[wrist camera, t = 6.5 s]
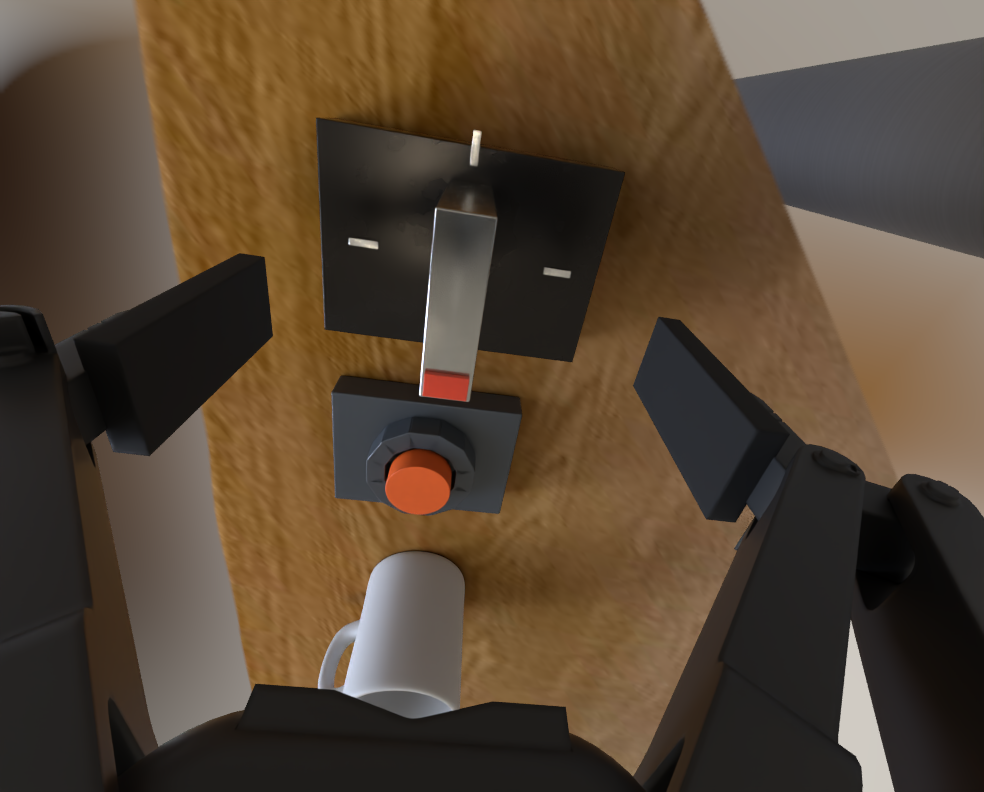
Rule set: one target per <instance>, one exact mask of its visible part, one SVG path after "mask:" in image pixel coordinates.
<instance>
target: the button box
mask: <svg viewBox="0 0 984 792" xmlns="http://www.w3.org/2000/svg"><path fill="white" fill-rule="evenodd" d="M419 389H420V385H414V384H406V383H398V382H390V381H382V380H374V379H366V378H358V377H349V376H340V378H339V380H338V382H337V384H336V385H335V387H334V389H333V391H332V420H333V449H334V477H335V498H341V499H352V500H362V501H372V502H383V503H385V504H387V505H389V506H390V507H392V508H394V509H396V510H398V511H400V512H402V513H407V512H404V511H402V510H400V509H398V508H397V507H395V506H394V505H393V504H392V503H391V502H390V501H389V499H388V498H387V495H386V491H385V486H386V482H387V478H388V474H389V470H390V467H391V464H392V462H393V460H394V459H395V458H396V457H397V456H398V455H400V454H401V453H403V452H406V451H408V450H413V449H425V450H429V451H433V452H435V453H437V454H439V455H440V456H442V457H443V458H444V459H445V460H446V461H447V462H448V464H449V466H450V468H451V472H452V477H451V489H450V497H449V499H448V501H447V503H446V504H445V505H444V506H443V507H442V508H440V509H439V510H437V511H435V512H432V513H429V514H418V515H434V514H437V513H441V512H444V511H447V510H451V509H455V510H465V511H476V512H486V513H496V514H499V513H500V510H501V505H502V501H503V497H504V492H505V488H506V483H507V479H508V475H509V470H510V466H511V462H512V457H513V453H514V449H515V444H516V440H517V436H518V431H519V427H520V423H521V418H522V410H521V403H520V398H519V397H512V396H504V395H496V394H488V393H479V392H471V396H470V401H469V402H463V401H455V400H447V399H438V398H430V397H422V396H420V395H419ZM408 514H411V513H408Z"/></svg>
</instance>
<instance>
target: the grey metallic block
mask: <svg viewBox="0 0 984 792" xmlns="http://www.w3.org/2000/svg"><path fill="white" fill-rule="evenodd" d="M497 222H498V217H497V211H496V205H495V199H494V194H493V188H492V186H489V185H483V184H477V183H471V182H465V181H459V180H453V179H451V180H450V181H449V183H448V185H447V187H446V189H445V191H444V192H443V194H442V196H441V198H440V200H439V202H438V204H437V205H436V207H435V212H434V224H433V235H432V247H431V259H430V271H429V283H428V295H427V306H426V318H425V330H424V342H423V354H422V366H421V377H420V389H419V395H420V396H422V397H430V398H438V399H447V400H455V401H463V402H469V401H470V396H471V390H472V383H473V377H474V370H475V364H476V357H477V351H478V345H479V338H480V332H481V325H482V319H483V312H484V306H485V299H486V293H487V286H488V280H489V273H490V267H491V260H492V254H493V247H494V241H495V235H496V228H497Z"/></svg>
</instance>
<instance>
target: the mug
mask: <svg viewBox="0 0 984 792" xmlns="http://www.w3.org/2000/svg"><path fill="white" fill-rule="evenodd" d="M464 596H465V582H464V578H463V575H462V573H461V571H460V570H459V569H458V567H457V566H456V565H455V564H454V563H452V562H451V561H450V560H448V559H446V558H444V557H442V556H440V555H436V554H433V553H429V552H422V551H408V552H402V553H397V554H394V555H391V556H389V557H387V558H385V559H384V560H382V561H381V562H380V563H379V564H378V565H377V566H376V567H375V568H374V570H373V572H372V574H371V576H370V580H369V583H368V588H367V593H366V597H365V602H364V606H363V611H362V615H361V619H360V620H357V621H355V622H352V623H350V624H348V625H346V626H344V627H343V628H342V629H341V630H339V632H338V633H337V634H336V635H335V637H334V638H333V640H332V642H331V644H330V646H329V648H328V650H327V652H326V655H325V657H324V661H323V664H322V667H321V671H320V675H319V681H318V689H332V690H337V691H339V692H342V693H344V694H347V695H350V696H352V697H355V698H357V699H360V700H362V701H365V702H367V703H370V704H373V705H375V706H378V707H380V708H383V709H385V710H388V711H391V712H393V713H396V714H398V715H401V716H403V717H407V718H422V717H426V716H431V715H435V714H440V713H444V712H449V711H453V710H457V709H460V688H461V662H462V635H463V612H464ZM352 642H355V644H354V648H353V652H352V656H351V660H350V664H349V668H348V672H347V676H346V680H345V685H344V686H342V687H339V688H334V678H335V673H336V669H337V666H338V663H339V660H340V658H341V656H342V654H343V652H344V650H345V649H346V648H347V646H348V645H350V644H351V643H352Z"/></svg>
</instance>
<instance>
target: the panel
mask: <svg viewBox="0 0 984 792" xmlns="http://www.w3.org/2000/svg"><path fill="white" fill-rule="evenodd" d="M316 129H317V154H318V178H319V203H320V227H321V252H322V277H323V301H324V326H325V330H332V331H340V332H347V333H355V334H362V335H370V336H378V337H385V338H393V339H400V340H408V341H415V342H424V330H425V318H426V306H427V295H428V283H429V271H430V259H431V247H432V235H433V224H434V212H435V207H436V205H437V204H438V202H439V200H440V198H441V196H442V194H443V192H444V191H445V189H446V187H447V185H448V183H449V181H450V180H451V179H453V180H459V181H465V182H471V183H477V184H483V185H489V186H492V188H493V194H494V199H495V205H496V211H497V217H498V222H497V228H496V235H495V241H494V247H493V254H492V260H491V267H490V273H489V280H488V286H487V293H486V299H485V306H484V312H483V319H482V325H481V332H480V338H479V345H478V350H483V351H491V352H498V353H506V354H513V355H521V356H528V357H536V358H544V359H551V360H559V361H566V362H572V361H573V358H574V354H575V350H576V347H577V343H578V340H579V336H580V333H581V329H582V325H583V322H584V318H585V315H586V311H587V307H588V304H589V300H590V297H591V293H592V290H593V286H594V282H595V279H596V275H597V272H598V268H599V264H600V261H601V257H602V254H603V250H604V247H605V243H606V239H607V236H608V232H609V229H610V225H611V221H612V218H613V214H614V211H615V207H616V203H617V200H618V196H619V193H620V189H621V186H622V182H623V178H624V175H625V172H623V171H620V170H617V169H614V168H611V167H608V166H602V165H596V164H591V163H585V162H580V161H574V160H568V159H563V158H557V157H551V156H546V155H540V154H535V153H529V152H523V151H518V150H512V149H507V148H501V147H495V146H490V145H484V144H480V141H481V133H482V131H478V130H474V131H473V140H472V142H467V141H462V140H456V139H450V138H445V137H439V136H434V135H428V134H422V133H417V132H411V131H405V130H400V129H394V128H389V127H383V126H377V125H372V124H366V123H361V122H355V121H349V120H344V119H338V118H316Z"/></svg>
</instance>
